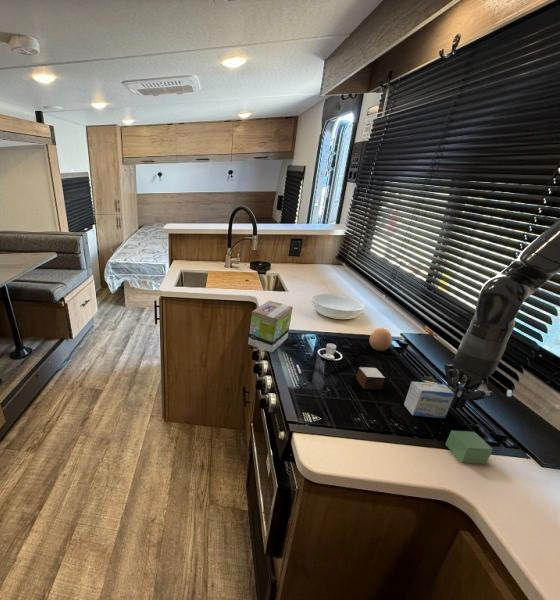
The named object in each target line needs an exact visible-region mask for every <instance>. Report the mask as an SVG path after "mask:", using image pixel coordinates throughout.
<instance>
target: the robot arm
mask: <svg viewBox="0 0 560 600" xmlns="http://www.w3.org/2000/svg"><path fill="white" fill-rule="evenodd" d="M558 273H560V218H559V219H558V220H557V221H555V222H554V223H553V224H551V225H550V226H549V227H547V229H545V230H544V231H543V232H542V233H541V234H540V235H539V236H537V238H536V239H534V240H533V241H532V242H531V243H530V244H529V245H527V246H526V247H525V248H524V249H523V250H522V251H521V253H520V254H519V255H518V257H517V258H516V259H514V261H512V262H511V263H510V264H509V265H508V266H507V267H506V268H504V269H503V270H502V271H501V272H499V273H498V274H496V276H494V277H492V278H490V279H489V280H487V281H486V282H485V283H484V284H483V286H482V287H481V290H480V291H479V294H478V297H477V301H476V305H475V311H474V315H473V316H472V318H471V321H470V323H469V325H468V328H467V330H466V332H465V334H464V335H463V336H462V338H461V341H460V344H459V345H458V348H457V350H456V353H455V355H454V358H453V364H445V365H444V373H445V377H446V382H447V387H448V388H451V391H452V392H453V393H454V394H455V395H454V398H453V400H452V402H451V405H450V406H451V407H452V408H454V409H463V408H464V407H465V405H466V403H467V401H479V400H483V399H484V400H485V399H487V398H492V397H494V395H495V394H494V392H493V391H491V390H489V389H488V387H487V385H488V383H489V377H490V376H491V375H493V374H494V373H495V371H496V370H497V368H498V365H499V363H500V361H501V359H502V357H503V355H504V353H505V351H506V350H507V349H506V348H507V344H508V341H509V339H510V337H511V335H512V332H513V331H514V328H515V325H516V318H517V316H518V313H519V311H520V309H521V308H522V306H523V304H524V302H525V301H526V300H527V299H528V298H529V297H530V296H531V295H533V294H534V293H535V292H537V291H538V289H539V288H541V287H542V286H543V285H544V284H545V283H547V282H548V281H549V280H550V279H551V278H552V277H554V276H555V275H556V274H558Z"/></svg>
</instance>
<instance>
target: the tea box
mask: <svg viewBox="0 0 560 600" xmlns="http://www.w3.org/2000/svg"><path fill="white" fill-rule="evenodd" d="M293 308H294V307H293V306H292V305H289V304H288V305H287V304H285V303H281V302H277V301H273V300H267V301H266V302H265V303H263V304H261V305H260V306H258V307H257V308H255V309H253V310H252V312H251V318H250V328H249V333H248V341H247V345H248V346H252V347H254V348H258V349H260V350H263V351H266V352H267V353H268V352H269V353H271V354H272V353H273V352H274V351H276V349H278V348H279V347H280V346H281V345H282V344H283V343H284V342H285V341H286V340H287V339H288V338H289V337H288V336H289V331H290V326H291V320H292V315H293Z"/></svg>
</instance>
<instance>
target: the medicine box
mask: <svg viewBox="0 0 560 600" xmlns="http://www.w3.org/2000/svg"><path fill="white" fill-rule="evenodd" d="M454 395H455V394H454V393H453V392H452V389H450V387H449V386H448V385H446V384H444V383H437V382H422V381H411V382H410V385H409V388H408V391H407V395H406V397H405V400H404V403H403V405H404V407H405V408H406V409H407V411H408V412H409V413H410V414H411V415H412V416H415V417H427V418H436V419H437V418H439V419H446V417H447V415H448V411H449V410H450V407H451V406H452V405H451V402H452V400H453V398H454Z"/></svg>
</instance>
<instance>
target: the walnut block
mask: <svg viewBox="0 0 560 600" xmlns="http://www.w3.org/2000/svg"><path fill="white" fill-rule="evenodd" d="M385 379H386V377H385V376H384V375H383V373H381V371H379V369H378V368H377V367H364V366H363V367H362V366H359V367H358V369H357V373H356V377H355V380H356V381H357V382H358V383H359V385H360V386H361V388H362V389H363V390H379V391H381V390H382V388H383V387H384V382H385Z"/></svg>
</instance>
